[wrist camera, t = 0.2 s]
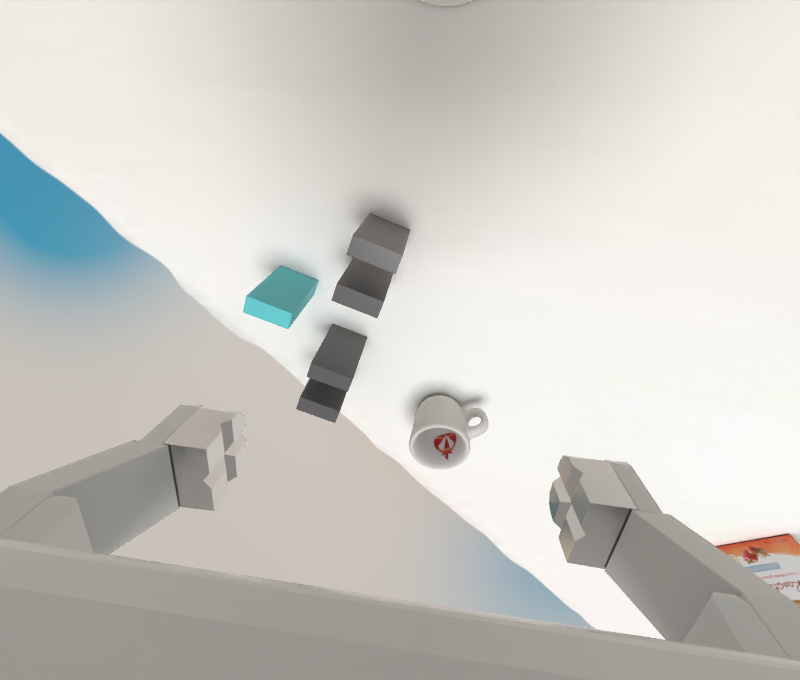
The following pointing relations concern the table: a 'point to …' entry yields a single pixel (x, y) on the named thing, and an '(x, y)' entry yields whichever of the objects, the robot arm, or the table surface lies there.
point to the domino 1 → (379, 243)
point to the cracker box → (771, 562)
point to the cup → (444, 432)
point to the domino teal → (280, 297)
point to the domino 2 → (363, 287)
